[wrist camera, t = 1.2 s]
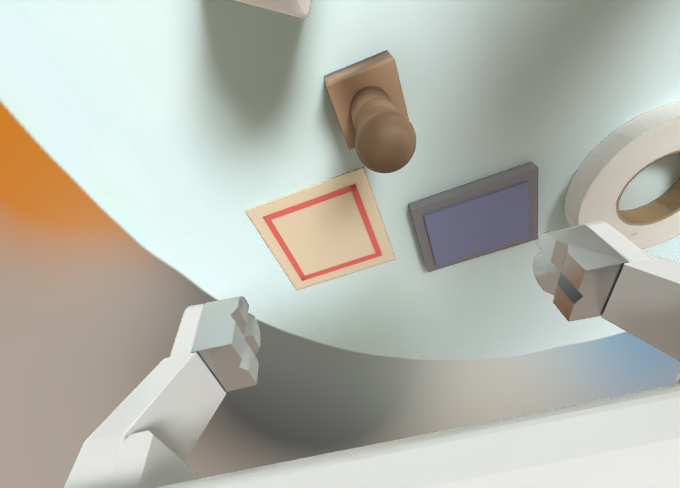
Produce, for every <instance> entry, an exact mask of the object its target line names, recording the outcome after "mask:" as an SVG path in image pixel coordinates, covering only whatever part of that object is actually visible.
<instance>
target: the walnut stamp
mask: <svg viewBox="0 0 680 488" xmlns="http://www.w3.org/2000/svg"><path fill="white" fill-rule="evenodd" d="M325 82H326V87H327V90H328V93H329V96H330V98H331V101H332V104H333V107H334V109H335V112H336V115H337V118H338V120H339V123H340V126H341V128H342V131H343V134H344V137H345V139H346V142H347V145H348V148H349V149H351V148H354V147H356V151H357V154H358V156H359V158H360V160H361V161H362V163H363V164H364V165H365V166H366V167H368V168H369V169H371V170H373V171H375V172H379V173H391V172H394V171H397V170H399V169H401V168H402V167H404V166H405V165H406V164H407V163H408V162H409V160H410V159H411V157H412V156H413V153H414V151H415V147H416V135H415V131H414V128H413V126H412V124H411V123H410V121H409V118H408V114H407V110H406V106H405V101H404V97H403V93H402V89H401V84H400V80H399V76H398V72H397V67H396V63H395V59H394V58H393V57H392V56H391V55H390V54H389V52H388V51H387V50H386V51H384V52H381V53H379V54H376V55H374V56H372V57H369V58H367V59H364V60H362V61H359V62H357V63H355V64H352V65H350V66H347V67H345V68H342V69H340V70H338V71H335V72H333V73H330V74H328V75H325Z"/></svg>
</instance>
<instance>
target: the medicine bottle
mask: <svg viewBox="0 0 680 488" xmlns="http://www.w3.org/2000/svg"><path fill="white" fill-rule="evenodd" d="M234 1H238V2H242V3H246V4H249V5H253V6H257V7H261V8H265V9H268V10H272V11H276V12H280V13H283V14H287V15H291V16H295V17H298V18H306V17H308V15H309V13H310V8H311V2H312V0H234Z"/></svg>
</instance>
